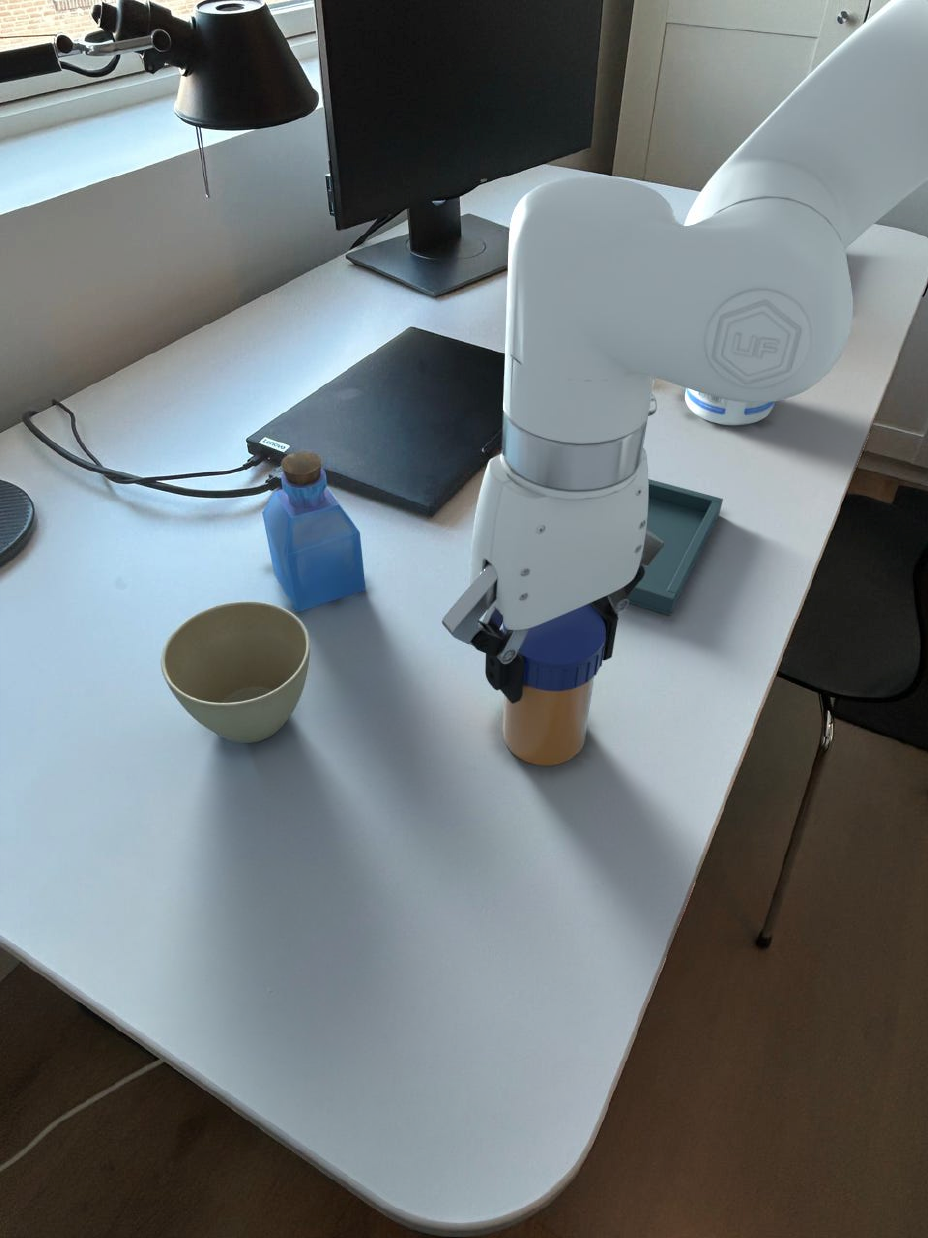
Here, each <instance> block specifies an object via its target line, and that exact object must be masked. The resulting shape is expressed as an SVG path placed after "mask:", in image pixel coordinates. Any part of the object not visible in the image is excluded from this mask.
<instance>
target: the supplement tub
mask: <svg viewBox="0 0 928 1238" xmlns="http://www.w3.org/2000/svg"><path fill="white" fill-rule="evenodd" d="M684 399H685V403H686V405H687V407H688V409H690V411H692V412H693V413H694V414H695V416H696V415H697V416H698V417H700V418H701V419H703V420H706V421H709V422H711V423H716V424H718V425H724V426H744V425H749V424H753V423H757V422H759V421H762V420H763V419H765V418H766V417H767V416H768V415H770V414H771V412H772V410H773V408H774V405H775V402H776V401H773V402H763V403H747V402H738V401H732V400H726V399H722V398H718V397H714V396H711V395H707V394H704V393H701V392H697V391H694V390H691V389H688V388H685V394H684Z"/></svg>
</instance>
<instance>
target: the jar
mask: <svg viewBox="0 0 928 1238" xmlns="http://www.w3.org/2000/svg"><path fill="white" fill-rule="evenodd" d="M594 681H595V676H594V677H593V678H592V679H591V680H590V681H588V682H587V683H585V684H583V685H582V686H579V687H577V688H574V689H570V690H565V691H545V690H540V689H536V688H533V687H530V686H528V685H525V684H523V692H522V698H521V700H520V701H518V702H516V703H514V704H512V703H511V702H510V701H509V700H508V698H507V697H506V696H505V695H504V694H503V716H502V737H503V740H504V743H505V745H506V747H507V748H508V750H509V751H510V752H511V753H512V754H513V755H515V756H516V757H517V758H519V759H520V760H522V761H524V762H526V763H529V764H531V765H536V766H543V767H544V766H545V767H550V766H557V765H562V764H564V763H566V762H569V761H570V760H571V759H574V757H576V756H577V755H578V754H579V753H580V752H581V750H582V749H583V747H584V745H585V741H586V735H587V729H588V723H589V715H590V709H591V702H592V696H593V688H594Z"/></svg>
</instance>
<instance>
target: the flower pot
mask: <svg viewBox="0 0 928 1238" xmlns="http://www.w3.org/2000/svg"><path fill="white" fill-rule="evenodd" d="M310 654H311V640H310V635H309V633H308V630H307V627H306V626H305V625H304V623H303V622H302V621H301V619H300V618H299V617H297V616H296V615H295V614H293V613H292V612H291V611H289V610H288V609H286V608H284V607H282V606H279V605H277V604H273V603H268V602H264V601H257V600H254V601H253V600H251V601H250V600H242V601H241V600H239V601H231V602H226V603H222V604H218V605H215V606H212V607H209V608H207V609H206V608H205V609H204V610H201V611H199V612H197V613H195V614H194V615H192V616H190V617H189V618H188V619H186V620H185V621H183V622H182V623H181V624H180V625H179V626H177V627H176V628H175V630H174V631H173V632H172V633H171V634H170V635H169V637H168V639H167V640H166V642H165V643H164V646H163V648H162V652H161V656H160V668H161V673H162V676H163V678H164V680H165V683H166V684H167V686H168V688H169V689H170V691H171V692H172V694H173V696H174V697H175V699H176V700H177V701H178V702H179V704H180V705H181V706H182V707H183V709H184V710H185V711H186V712H187V713H188V714H189V715H190V716H191V717H192V718H193V719H194V720H196V721H197V722H198V723H199V724H200V725H201V726H203V727H204V728H206V729H207V730H208V731H210V732H212V733H214V734H215V735H217V736H220V737H222V738H224V739H226V740H229V741H232V742H235V743H239V744H251V743H258V742H261V741H264V740H266V739H268V738H270V737H272V736H274V735H275V734H276V733H277V732H278V731H279V730H280V729H281V728H282V727H283V726H284V725H285V724H286V723H287V721H288V719H289V718H290V717H291V715H292V714H293V712H294V711H295V709H296V707H297V705H298V703H299V701H300V698H301V697H302V693H303V691H304V687H305V685H306V681H307V678H308V672H309V667H310V656H311V655H310Z"/></svg>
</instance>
